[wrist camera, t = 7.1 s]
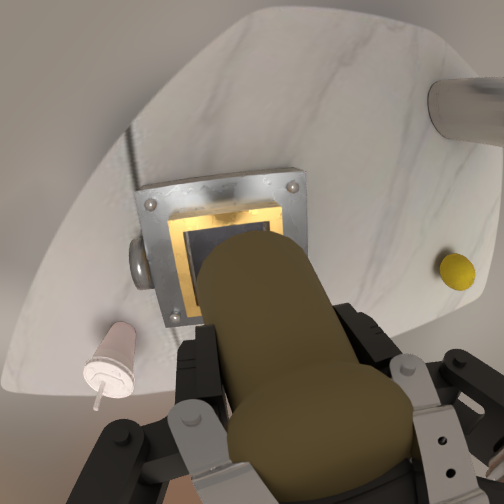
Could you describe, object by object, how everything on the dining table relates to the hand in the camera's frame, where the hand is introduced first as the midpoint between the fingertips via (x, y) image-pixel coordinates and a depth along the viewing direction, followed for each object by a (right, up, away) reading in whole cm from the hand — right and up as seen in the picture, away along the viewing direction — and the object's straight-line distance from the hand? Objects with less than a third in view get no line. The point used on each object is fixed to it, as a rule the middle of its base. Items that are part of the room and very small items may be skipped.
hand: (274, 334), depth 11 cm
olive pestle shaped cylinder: (-1, +2, +4) cm, 4 cm away
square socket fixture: (-4, +4, +22) cm, 23 cm away
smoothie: (-19, -8, +25) cm, 32 cm away
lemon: (+31, +2, +30) cm, 43 cm away
